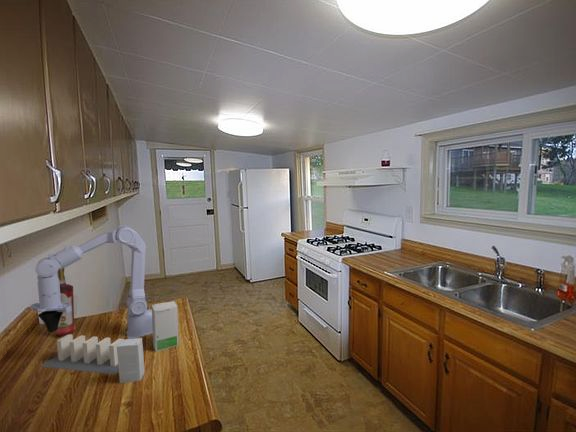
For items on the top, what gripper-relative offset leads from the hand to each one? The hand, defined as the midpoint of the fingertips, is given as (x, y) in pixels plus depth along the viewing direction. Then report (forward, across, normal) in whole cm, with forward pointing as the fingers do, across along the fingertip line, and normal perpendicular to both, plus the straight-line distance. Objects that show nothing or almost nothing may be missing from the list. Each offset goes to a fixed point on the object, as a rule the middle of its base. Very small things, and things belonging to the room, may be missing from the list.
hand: (53, 331), depth 101 cm
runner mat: (+10, +15, 0) cm, 17 cm away
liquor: (+10, -12, +15) cm, 21 cm away
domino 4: (+9, +20, 0) cm, 22 cm away
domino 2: (+9, +10, 0) cm, 13 cm away
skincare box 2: (+10, +34, +13) cm, 38 cm away
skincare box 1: (+10, +35, -6) cm, 37 cm away
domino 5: (+9, +24, 0) cm, 26 cm away
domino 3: (+9, +15, 0) cm, 17 cm away
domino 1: (+9, +4, 0) cm, 10 cm away
